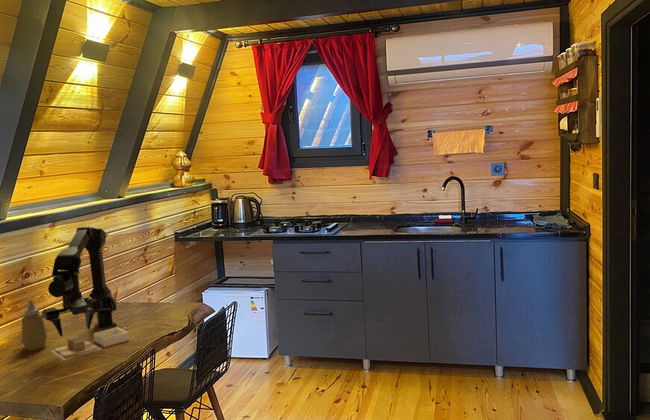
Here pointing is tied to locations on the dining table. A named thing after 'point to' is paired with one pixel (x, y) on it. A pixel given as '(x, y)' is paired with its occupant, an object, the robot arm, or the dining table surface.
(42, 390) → the dining table surface
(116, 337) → the dish
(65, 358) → the mat
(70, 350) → the lid
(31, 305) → the squeeze bottle
